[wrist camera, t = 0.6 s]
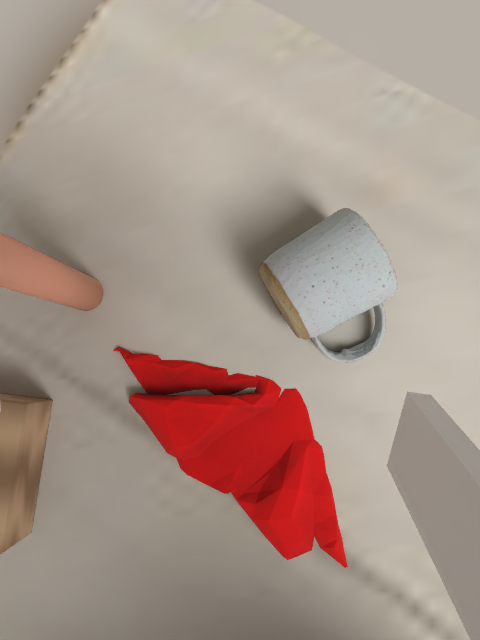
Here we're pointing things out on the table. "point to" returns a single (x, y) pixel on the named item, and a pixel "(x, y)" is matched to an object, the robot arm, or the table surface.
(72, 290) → the dowel
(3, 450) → the square frame
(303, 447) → the cloth
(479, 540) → the robot arm
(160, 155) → the table surface
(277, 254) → the ceramic mug
